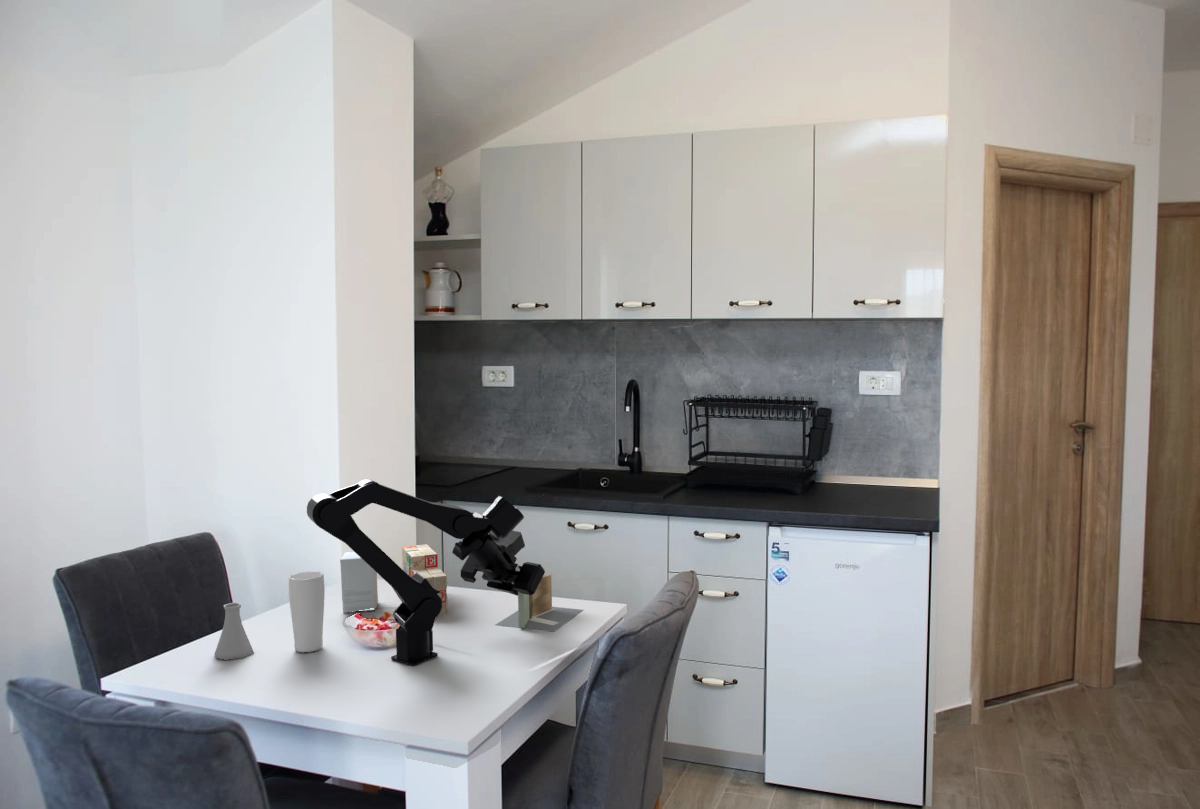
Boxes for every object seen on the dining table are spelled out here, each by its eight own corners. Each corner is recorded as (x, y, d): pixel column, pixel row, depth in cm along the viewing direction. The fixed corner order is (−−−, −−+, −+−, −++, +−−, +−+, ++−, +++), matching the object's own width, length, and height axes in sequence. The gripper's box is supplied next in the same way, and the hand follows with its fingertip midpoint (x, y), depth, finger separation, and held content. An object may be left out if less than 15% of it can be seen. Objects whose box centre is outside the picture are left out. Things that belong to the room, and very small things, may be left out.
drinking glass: (298, 657, 165) (295, 581, 164) (285, 648, 170) (282, 575, 169) (332, 649, 169) (329, 575, 168) (318, 640, 174) (315, 569, 173)
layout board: (554, 633, 176) (554, 631, 176) (494, 626, 181) (494, 624, 181) (583, 611, 191) (583, 609, 191) (528, 605, 196) (528, 603, 196)
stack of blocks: (447, 616, 190) (446, 562, 189) (419, 620, 188) (418, 565, 187) (428, 592, 210) (427, 543, 209) (403, 595, 207) (401, 545, 207)
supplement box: (378, 602, 201) (377, 549, 201) (374, 611, 194) (373, 557, 193) (346, 604, 200) (344, 551, 200) (341, 613, 193) (339, 558, 192)
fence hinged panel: (524, 617, 185) (523, 581, 184) (529, 617, 185) (528, 581, 184) (518, 627, 178) (517, 590, 178) (524, 627, 178) (523, 590, 178)
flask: (208, 655, 167) (205, 605, 166) (244, 645, 172) (242, 597, 172) (223, 664, 162) (221, 612, 162) (260, 653, 167) (258, 604, 167)
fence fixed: (528, 619, 185) (527, 581, 184) (522, 618, 186) (521, 580, 185) (552, 609, 192) (551, 573, 191) (547, 608, 193) (546, 572, 192)
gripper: (539, 526, 170) (570, 568, 180) (469, 515, 180) (502, 555, 190) (515, 573, 164) (548, 614, 174) (443, 559, 174) (479, 598, 184)
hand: (519, 593), depth 180 cm, fingers closed, pressing on fence hinged panel
